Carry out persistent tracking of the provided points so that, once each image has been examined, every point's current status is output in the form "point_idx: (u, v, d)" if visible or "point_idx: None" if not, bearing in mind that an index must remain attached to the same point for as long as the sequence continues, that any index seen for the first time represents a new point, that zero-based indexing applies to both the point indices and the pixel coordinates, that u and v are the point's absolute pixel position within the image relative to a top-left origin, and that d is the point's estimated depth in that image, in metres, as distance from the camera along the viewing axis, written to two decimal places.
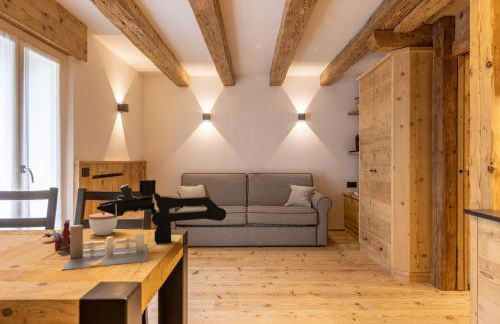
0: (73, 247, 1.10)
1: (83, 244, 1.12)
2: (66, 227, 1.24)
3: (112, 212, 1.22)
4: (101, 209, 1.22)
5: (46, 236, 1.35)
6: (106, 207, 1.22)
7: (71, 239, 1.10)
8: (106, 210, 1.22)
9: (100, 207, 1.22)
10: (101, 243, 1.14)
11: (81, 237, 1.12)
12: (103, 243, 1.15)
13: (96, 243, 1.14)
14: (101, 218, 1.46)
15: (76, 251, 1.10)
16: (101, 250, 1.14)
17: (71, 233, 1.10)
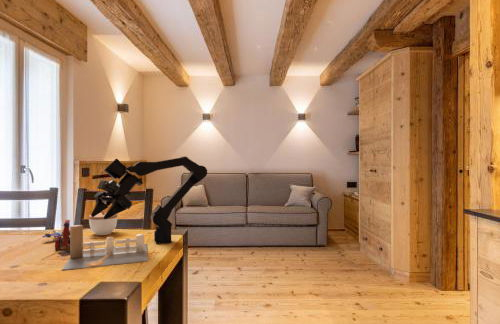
0: (73, 247, 1.10)
1: (83, 244, 1.12)
2: (66, 227, 1.24)
3: (120, 210, 1.19)
4: (109, 216, 1.17)
5: (46, 236, 1.35)
6: (112, 211, 1.17)
7: (71, 239, 1.10)
8: (114, 213, 1.18)
9: (107, 215, 1.16)
10: (101, 243, 1.14)
11: (81, 237, 1.12)
12: (103, 243, 1.15)
13: (96, 243, 1.14)
14: (101, 218, 1.46)
15: (76, 251, 1.10)
16: (101, 250, 1.14)
17: (71, 233, 1.10)
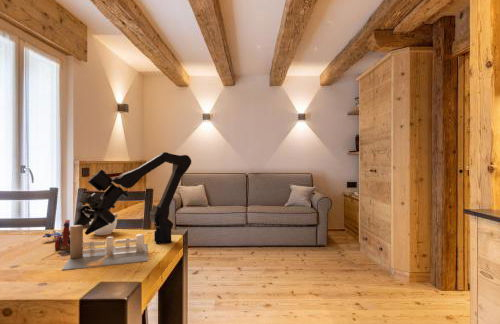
0: (73, 247, 1.10)
1: (83, 244, 1.12)
2: (66, 227, 1.24)
3: (103, 224, 1.13)
4: (91, 231, 1.11)
5: (46, 236, 1.35)
6: (94, 226, 1.12)
7: (71, 239, 1.10)
8: (96, 228, 1.12)
9: (88, 230, 1.11)
10: (101, 243, 1.14)
11: (81, 237, 1.12)
12: (103, 243, 1.15)
13: (96, 243, 1.14)
14: None
15: (76, 251, 1.10)
16: (101, 250, 1.14)
17: (71, 233, 1.10)
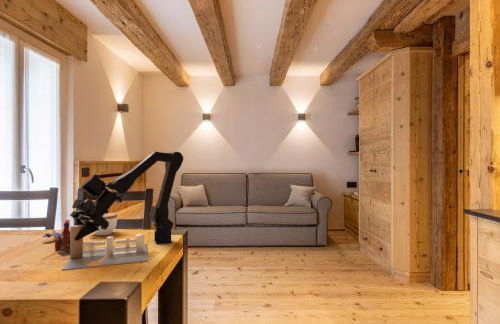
0: (73, 247, 1.10)
1: (83, 244, 1.12)
2: (66, 227, 1.24)
3: (93, 230, 1.13)
4: (81, 237, 1.11)
5: (46, 236, 1.35)
6: (83, 231, 1.11)
7: (71, 239, 1.10)
8: (86, 233, 1.12)
9: (78, 236, 1.10)
10: (101, 243, 1.14)
11: None
12: (103, 243, 1.15)
13: (96, 243, 1.14)
14: None
15: (76, 251, 1.10)
16: (101, 250, 1.14)
17: (71, 233, 1.10)
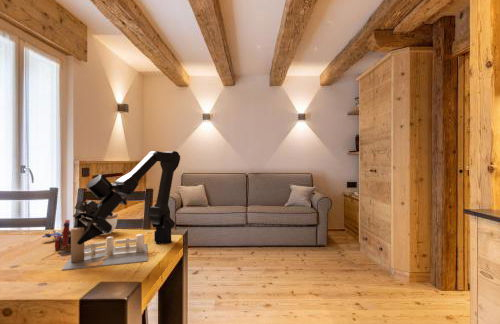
0: (77, 251, 1.06)
1: (85, 247, 1.09)
2: (66, 227, 1.24)
3: (97, 234, 1.06)
4: (84, 241, 1.04)
5: (46, 236, 1.35)
6: (87, 235, 1.04)
7: (74, 242, 1.06)
8: (89, 237, 1.05)
9: (81, 240, 1.04)
10: (102, 244, 1.13)
11: None
12: (104, 243, 1.14)
13: (98, 244, 1.12)
14: None
15: (80, 254, 1.07)
16: (102, 251, 1.13)
17: (74, 236, 1.06)
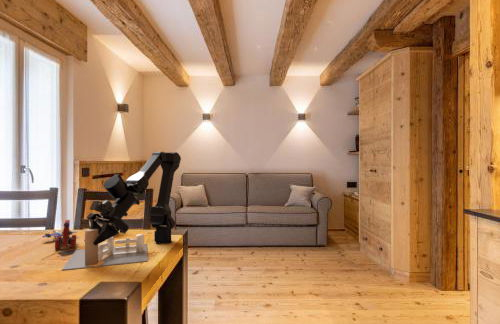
0: (95, 252, 1.04)
1: None
2: (66, 227, 1.24)
3: (112, 234, 1.05)
4: (100, 241, 1.03)
5: (46, 236, 1.35)
6: (103, 235, 1.03)
7: (93, 244, 1.03)
8: (105, 237, 1.04)
9: (97, 241, 1.02)
10: (106, 244, 1.13)
11: None
12: (108, 244, 1.14)
13: (104, 245, 1.11)
14: None
15: (97, 255, 1.05)
16: (106, 251, 1.13)
17: (93, 238, 1.03)
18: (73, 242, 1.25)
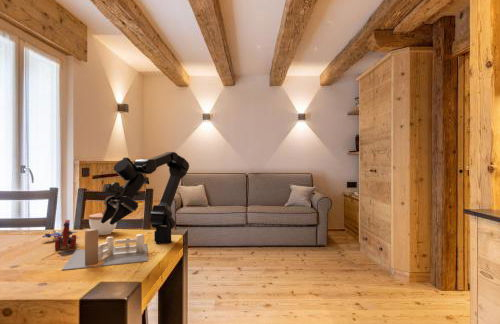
0: (95, 252, 1.04)
1: None
2: (66, 227, 1.24)
3: (127, 213, 1.09)
4: (115, 220, 1.08)
5: (46, 236, 1.35)
6: (117, 215, 1.08)
7: (93, 244, 1.03)
8: (120, 217, 1.08)
9: (113, 220, 1.07)
10: (106, 244, 1.13)
11: None
12: (108, 244, 1.14)
13: (104, 245, 1.11)
14: (101, 218, 1.46)
15: (97, 255, 1.05)
16: (106, 251, 1.13)
17: (93, 238, 1.03)
18: (73, 242, 1.25)
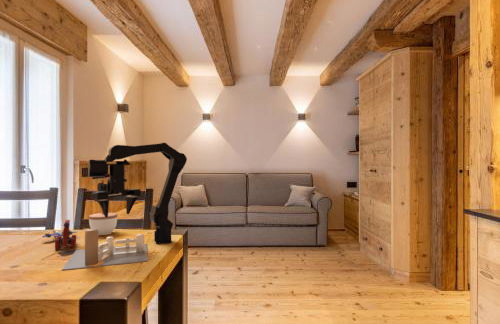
0: (95, 252, 1.04)
1: None
2: (66, 227, 1.24)
3: (104, 203, 1.19)
4: (105, 213, 1.20)
5: (46, 236, 1.35)
6: (103, 208, 1.20)
7: (93, 244, 1.03)
8: (104, 208, 1.20)
9: (104, 214, 1.21)
10: (106, 244, 1.13)
11: None
12: (108, 244, 1.14)
13: (104, 245, 1.11)
14: (101, 218, 1.46)
15: (97, 255, 1.05)
16: (106, 251, 1.13)
17: (93, 238, 1.03)
18: (73, 242, 1.25)
